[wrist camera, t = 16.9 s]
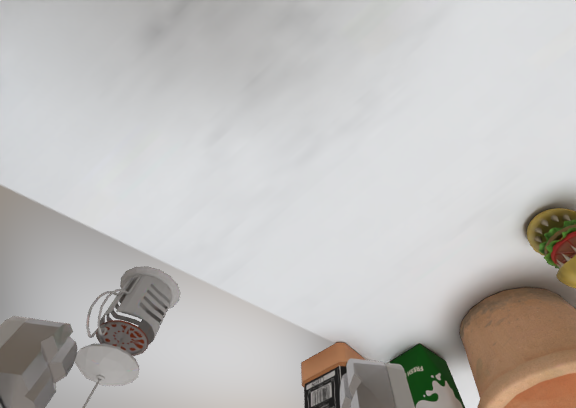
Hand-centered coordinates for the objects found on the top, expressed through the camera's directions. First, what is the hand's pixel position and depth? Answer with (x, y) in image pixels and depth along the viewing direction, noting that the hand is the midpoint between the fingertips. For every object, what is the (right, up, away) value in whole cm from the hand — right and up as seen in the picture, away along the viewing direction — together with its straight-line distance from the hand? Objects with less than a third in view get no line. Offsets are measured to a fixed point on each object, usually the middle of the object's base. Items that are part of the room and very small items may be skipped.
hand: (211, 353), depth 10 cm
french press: (-21, -9, +44) cm, 50 cm away
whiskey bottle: (+11, -26, +52) cm, 59 cm away
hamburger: (+38, +2, +35) cm, 52 cm away
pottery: (+39, -15, +45) cm, 61 cm away
